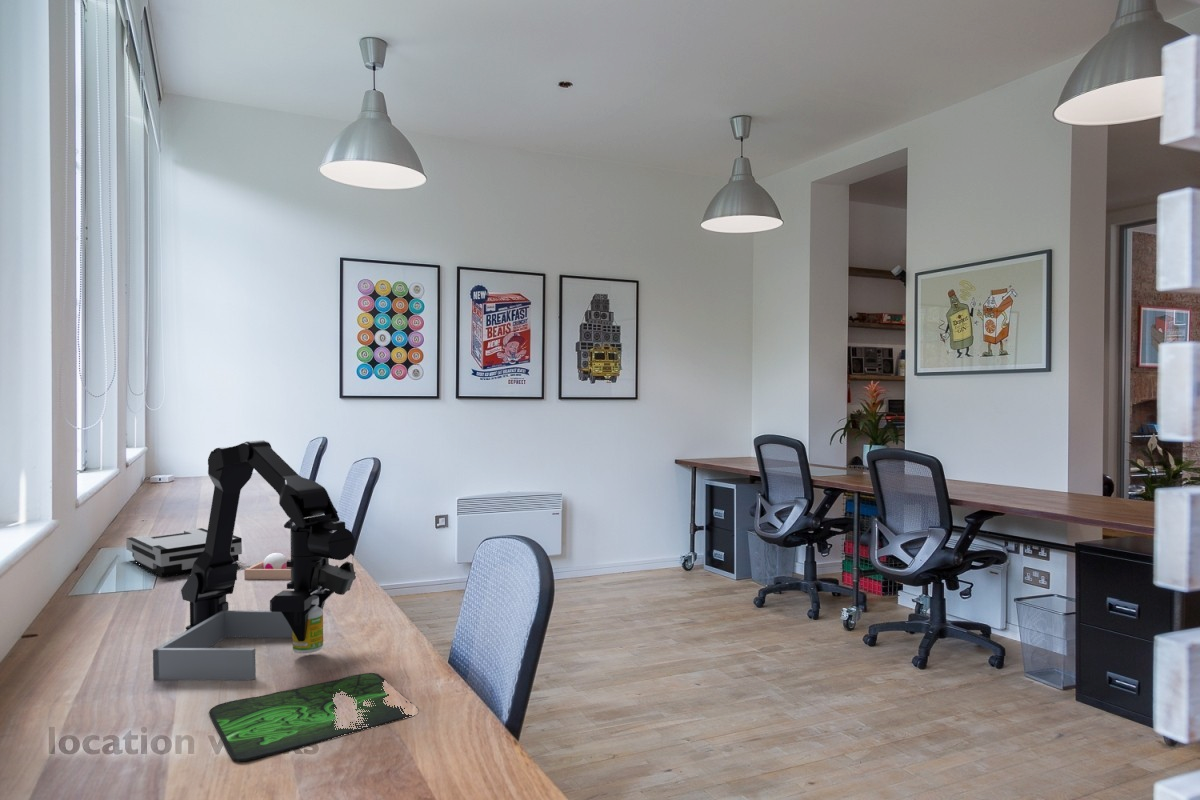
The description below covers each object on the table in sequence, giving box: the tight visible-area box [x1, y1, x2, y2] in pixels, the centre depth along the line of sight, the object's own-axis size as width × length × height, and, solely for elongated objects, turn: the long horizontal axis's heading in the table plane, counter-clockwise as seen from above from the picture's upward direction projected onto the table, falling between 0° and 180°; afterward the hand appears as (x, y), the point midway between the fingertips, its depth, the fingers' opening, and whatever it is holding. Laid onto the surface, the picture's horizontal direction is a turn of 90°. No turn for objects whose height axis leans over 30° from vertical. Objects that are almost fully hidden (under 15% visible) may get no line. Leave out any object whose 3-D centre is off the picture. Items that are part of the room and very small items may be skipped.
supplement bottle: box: [292, 595, 324, 654], centre depth 142 cm, size 5×5×10 cm
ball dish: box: [243, 558, 291, 580], centre depth 206 cm, size 13×13×2 cm
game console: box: [125, 527, 243, 578], centre depth 218 cm, size 21×32×8 cm, turn 46°
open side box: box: [152, 610, 293, 681], centre depth 142 cm, size 18×23×5 cm
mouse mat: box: [208, 672, 412, 762], centre depth 118 cm, size 27×22×1 cm
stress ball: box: [262, 552, 288, 569], centre depth 204 cm, size 8×8×7 cm
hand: (307, 635), depth 142 cm, fingers closed on supplement bottle, 5 cm apart
